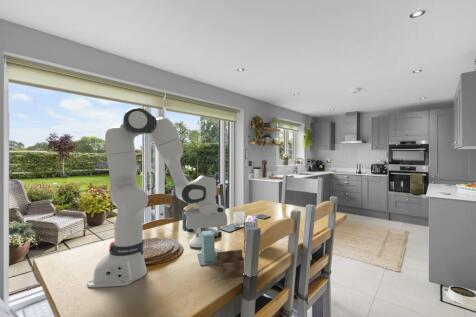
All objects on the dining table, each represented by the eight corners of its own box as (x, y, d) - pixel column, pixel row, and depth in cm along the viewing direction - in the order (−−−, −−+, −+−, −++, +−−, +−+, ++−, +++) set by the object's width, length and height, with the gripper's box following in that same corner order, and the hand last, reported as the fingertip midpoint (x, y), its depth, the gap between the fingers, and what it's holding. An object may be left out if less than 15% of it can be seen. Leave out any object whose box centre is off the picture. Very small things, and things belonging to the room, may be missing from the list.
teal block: (204, 262, 114) (203, 237, 113) (201, 254, 122) (201, 231, 122) (214, 261, 115) (214, 236, 115) (211, 253, 124) (211, 230, 123)
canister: (178, 228, 168) (178, 203, 168) (194, 224, 177) (194, 200, 176) (188, 232, 158) (188, 206, 158) (204, 228, 167) (204, 203, 167)
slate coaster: (200, 266, 111) (200, 265, 111) (197, 254, 124) (197, 253, 124) (219, 263, 114) (219, 262, 114) (214, 252, 126) (214, 251, 126)
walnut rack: (223, 279, 100) (223, 264, 100) (217, 265, 112) (216, 252, 112) (250, 274, 103) (250, 260, 103) (241, 261, 116) (241, 249, 115)
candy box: (254, 253, 125) (254, 222, 125) (243, 252, 126) (243, 221, 126) (258, 243, 138) (257, 215, 138) (247, 243, 140) (247, 214, 139)
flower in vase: (206, 240, 143) (206, 199, 143) (210, 247, 133) (210, 202, 132) (184, 243, 139) (184, 200, 139) (186, 251, 128) (186, 204, 128)
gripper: (186, 210, 112) (185, 240, 112) (228, 208, 118) (228, 236, 118) (185, 207, 118) (184, 235, 118) (225, 205, 124) (225, 232, 124)
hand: (206, 236), depth 118 cm, fingers open, 8 cm apart
